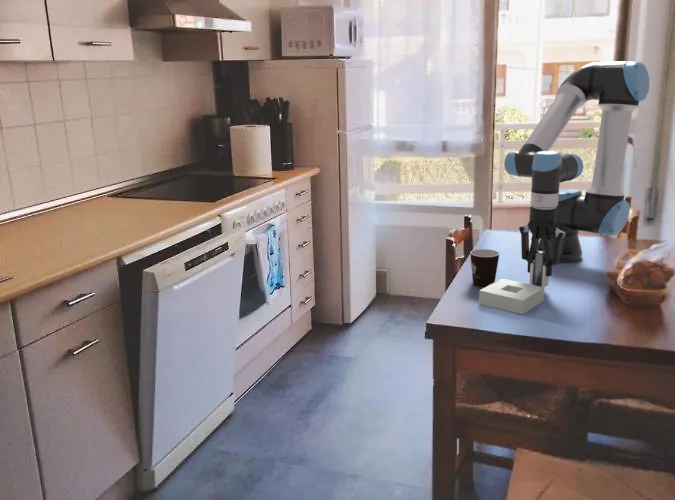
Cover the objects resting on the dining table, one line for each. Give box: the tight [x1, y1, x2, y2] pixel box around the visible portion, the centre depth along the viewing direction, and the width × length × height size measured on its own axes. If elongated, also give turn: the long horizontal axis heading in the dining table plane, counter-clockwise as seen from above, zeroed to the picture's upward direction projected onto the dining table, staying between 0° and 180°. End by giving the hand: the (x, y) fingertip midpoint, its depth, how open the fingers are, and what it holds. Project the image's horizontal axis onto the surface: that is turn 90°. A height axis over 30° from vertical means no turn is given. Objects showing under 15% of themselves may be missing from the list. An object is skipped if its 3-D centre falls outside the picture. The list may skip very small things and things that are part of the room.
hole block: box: [478, 278, 545, 315], centre depth 177 cm, size 13×13×4 cm
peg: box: [533, 251, 546, 287], centre depth 184 cm, size 3×3×12 cm
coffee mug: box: [469, 248, 500, 289], centre depth 193 cm, size 12×9×10 cm
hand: (538, 284), depth 185 cm, fingers closed on peg, 3 cm apart
